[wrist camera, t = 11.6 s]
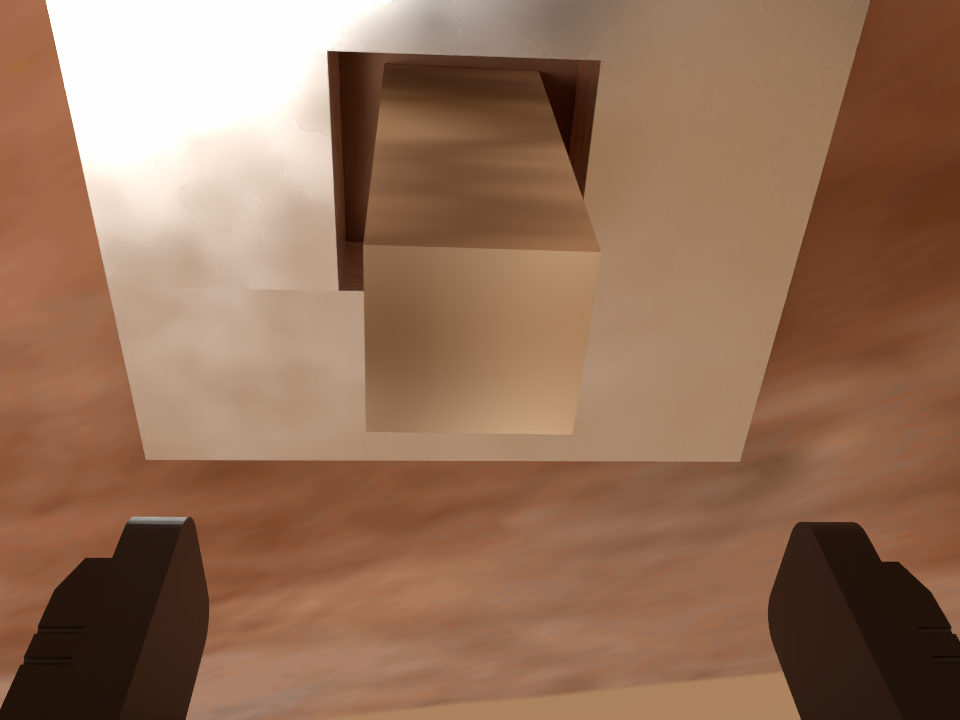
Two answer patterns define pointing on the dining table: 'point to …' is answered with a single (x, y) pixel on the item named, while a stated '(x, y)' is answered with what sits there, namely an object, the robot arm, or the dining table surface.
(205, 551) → the dining table surface
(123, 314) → the square slotted board
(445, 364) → the wooden block
